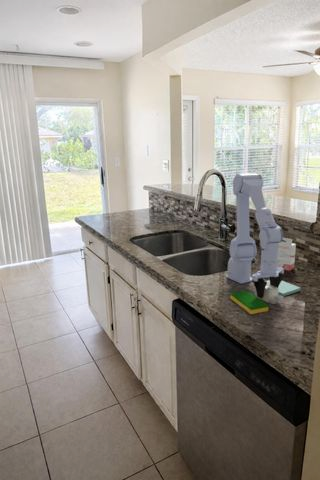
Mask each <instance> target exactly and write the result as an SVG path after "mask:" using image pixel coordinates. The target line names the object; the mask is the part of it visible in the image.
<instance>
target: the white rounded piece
mask: <svg viewBox="0 0 320 480" xmlns="http://www.w3.org/2000/svg"><path fill="white" fill-rule="evenodd" d="M278 291H279V289H278V288H277V287H275V286H272V285H270V284H266V286H265V290H264V296H263V298H259V297H257V292H256V291H255V297H257V298H258V299H260V300H261V301H263V302H265V303H268V304H271V305H274V304H277V303H278V302H280V301H283V300H284V297H285V296H281V295H278Z"/></svg>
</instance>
